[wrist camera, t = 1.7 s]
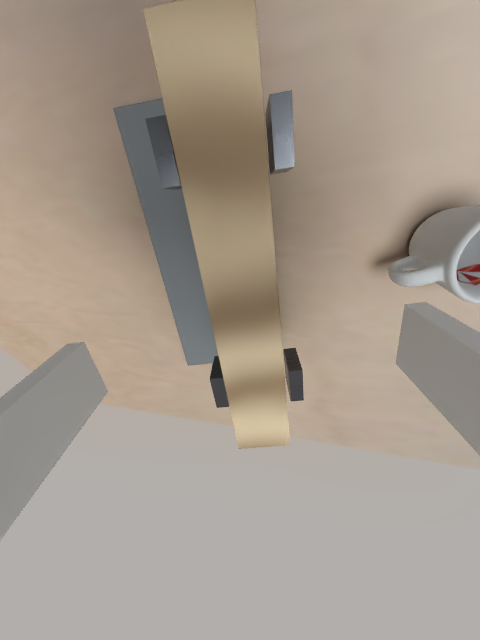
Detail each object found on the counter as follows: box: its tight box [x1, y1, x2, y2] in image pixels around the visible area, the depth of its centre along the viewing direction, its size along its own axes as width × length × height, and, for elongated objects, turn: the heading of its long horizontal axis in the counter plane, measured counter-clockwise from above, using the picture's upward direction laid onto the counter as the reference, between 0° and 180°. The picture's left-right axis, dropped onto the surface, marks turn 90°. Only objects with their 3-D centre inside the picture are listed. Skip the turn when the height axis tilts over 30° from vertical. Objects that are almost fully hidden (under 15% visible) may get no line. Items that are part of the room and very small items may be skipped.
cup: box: [388, 205, 480, 304], centre depth 23 cm, size 11×8×8 cm
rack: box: [145, 90, 304, 408], centre depth 22 cm, size 22×7×13 cm, turn 8°
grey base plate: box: [113, 99, 218, 365], centre depth 28 cm, size 28×6×1 cm, turn 8°
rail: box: [143, 0, 290, 449], centre depth 16 cm, size 24×4×5 cm, turn 8°
